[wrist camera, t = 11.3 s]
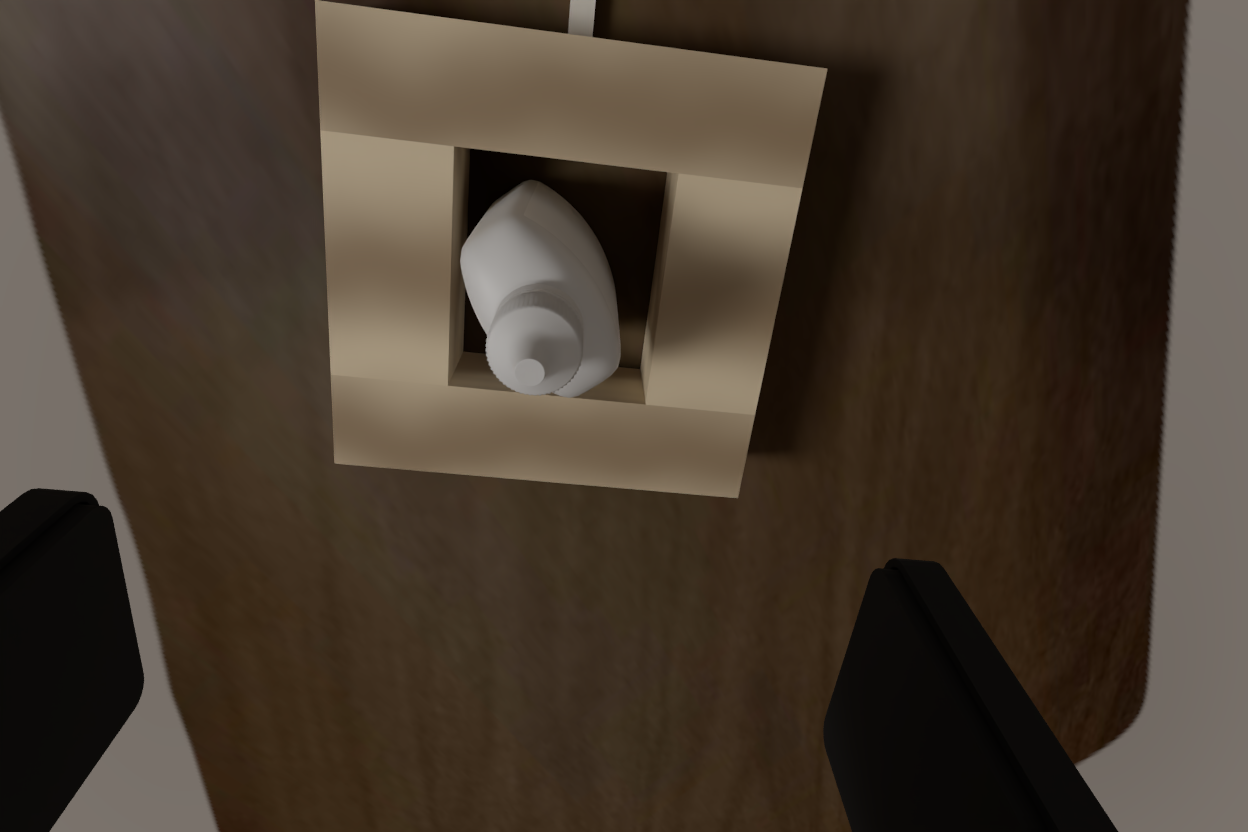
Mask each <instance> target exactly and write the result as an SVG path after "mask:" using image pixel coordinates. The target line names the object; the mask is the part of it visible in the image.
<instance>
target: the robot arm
mask: <svg viewBox="0 0 1248 832" xmlns="http://www.w3.org/2000/svg"><path fill="white" fill-rule="evenodd" d="M143 684H144V673H143V668H142V663H141V658H140V654H139V648H138V643H137V638H136V633H135V628H134V624H133V618H132V614H131V608H130V603H129V598H128V593H127V589H126V583H125V578H124V573H123V569H122V563H121V558H120V553H119V548H118V543H117V538H116V533H115V528H114V523H113V518H112V515H111V512H110V511H109V510H108V508H106V507H104V506H99V504H98V501H97V500H96V498H95V497H94V496H93V495H92V494H89V493H87V492H77V491H65V490H53V489H40V488H38V489H31V490H29V491H27V492H25V493H23V494H22V495H21V496H19V497H18V498H17V499H16V500H14V501H13V502H12V503H11V504H9V505H8V506H7V507H5V508H4V509H3V510H2V511H1V512H0V832H49V831H50V830H51V828H52V827H53V825H54V824H55V823H56V821H57V820H58V818H59V817H60V815H61V814H62V813H63V811H64V810H65V808H66V807H67V805H68V804H69V802H70V801H71V800H72V798H73V797H74V795H75V794H76V792H77V791H78V789H79V788H80V787H81V785H82V784H83V782H84V781H85V779H86V778H87V777H88V775H89V774H90V772H91V771H92V769H93V768H94V766H95V765H96V764H97V762H98V761H99V759H100V758H101V757H102V755H103V754H104V752H105V751H106V749H107V748H108V747H109V745H110V744H111V742H112V741H113V739H114V738H115V736H116V735H117V734H118V732H119V731H120V729H121V728H122V726H123V725H124V724H125V722H126V721H127V719H128V718H129V716H130V715H131V714H132V712H133V711H134V709H135V707H136V705H137V704H138V702H139V700H140V697H141V694H142V690H143ZM823 731H824V744H825V748H826V752H827V755H828V758H829V761H830V765H831V768H832V771H833V774H834V777H835V780H836V783H837V786H838V789H839V792H840V795H841V798H842V802H843V805H844V808H845V811H846V814H847V817H848V820H849V823H850V826H851V829H852V832H1118V831H1117V829H1116V828H1115V826H1114V825H1113V823H1112V822H1111V820H1110V819H1109V817H1108V816H1107V814H1106V813H1105V811H1104V809H1103V808H1102V807H1101V805H1100V803H1099V802H1098V800H1097V799H1096V798H1095V796H1094V794H1093V793H1092V791H1091V790H1090V788H1089V787H1088V785H1087V784H1086V782H1085V781H1084V779H1083V778H1082V776H1081V775H1080V773H1079V772H1078V770H1077V769H1076V767H1075V766H1074V764H1073V763H1072V761H1071V760H1070V758H1069V757H1068V755H1067V754H1066V752H1065V751H1064V749H1063V748H1062V746H1061V745H1060V743H1059V742H1058V740H1057V738H1056V737H1055V735H1054V734H1053V732H1052V731H1051V729H1050V728H1049V726H1048V725H1047V723H1046V722H1045V720H1044V719H1043V717H1042V716H1041V714H1040V713H1039V711H1038V710H1037V708H1036V707H1035V705H1034V704H1033V702H1032V701H1031V699H1030V698H1029V696H1028V695H1027V693H1026V692H1025V690H1024V689H1023V687H1022V686H1021V684H1020V683H1019V681H1018V680H1017V678H1016V677H1015V675H1014V674H1013V672H1012V671H1011V669H1010V668H1009V666H1008V665H1007V663H1006V662H1005V660H1004V658H1003V657H1002V655H1001V654H1000V652H999V651H998V649H997V648H996V646H995V645H994V643H993V642H992V640H991V639H990V637H989V636H988V634H987V633H986V631H985V630H984V628H983V627H982V625H981V624H980V622H979V621H978V619H977V618H976V616H975V615H974V613H973V612H972V610H971V609H970V607H969V606H968V604H967V603H966V601H965V600H964V598H963V597H962V595H961V594H960V592H959V591H958V589H957V588H956V586H955V585H954V583H953V581H952V580H951V578H950V577H949V575H948V574H947V572H946V571H945V569H944V568H943V567H942V566H941V565H940V564H939V563H937V562H934V561H922V560H909V559H897V558H894V559H891V560H889V561H888V562H887V563H886V565H885V567H884V569H880V568H878V569H875V570H874V571H873V572H872V574H871V576H870V579H869V582H868V585H867V588H866V591H865V594H864V598H863V601H862V604H861V607H860V610H859V613H858V616H857V620H856V623H855V626H854V629H853V632H852V635H851V638H850V641H849V645H848V648H847V651H846V654H845V657H844V660H843V663H842V667H841V670H840V673H839V676H838V679H837V682H836V685H835V688H834V692H833V695H832V698H831V701H830V704H829V707H828V710H827V714H826V717H825V721H824V730H823Z"/></svg>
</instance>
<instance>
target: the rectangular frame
mask: <svg viewBox="0 0 1248 832" xmlns="http://www.w3.org/2000/svg"><path fill="white" fill-rule="evenodd" d="M315 12H316V36H317V59H318V83H319V106H320V130H321V153H322V177H323V201H324V224H325V248H326V271H327V295H328V318H329V342H330V365H331V389H332V413H333V436H334V460H335V464H347V465H358V466H370V467H382V468H393V469H405V470H416V471H428V472H440V473H451V474H463V475H475V476H486V477H498V478H510V479H521V480H533V481H544V482H556V483H568V484H579V485H591V486H603V487H614V488H626V489H638V490H649V491H661V492H673V493H684V494H696V495H707V496H719V497H731V498H738V494H739V489H740V485H741V480H742V475H743V470H744V466H745V461H746V456H747V451H748V446H749V442H750V437H751V432H752V427H753V423H754V418H755V413H756V408H757V403H758V399H759V394H760V389H761V384H762V380H763V375H764V370H765V365H766V360H767V356H768V351H769V346H770V341H771V337H772V332H773V327H774V322H775V317H776V313H777V308H778V303H779V298H780V294H781V289H782V284H783V279H784V274H785V270H786V265H787V260H788V255H789V251H790V246H791V241H792V236H793V231H794V227H795V222H796V217H797V212H798V208H799V203H800V198H801V193H802V188H803V184H804V179H805V174H806V169H807V165H808V160H809V155H810V150H811V145H812V141H813V136H814V131H815V126H816V122H817V117H818V112H819V107H820V102H821V98H822V93H823V88H824V83H825V79H826V74H827V69H826V68H819V67H811V66H804V65H796V64H789V63H781V62H774V61H766V60H759V59H751V58H744V57H736V56H729V55H721V54H714V53H707V52H699V51H692V50H684V49H677V48H669V47H662V46H654V45H647V44H639V43H632V42H624V41H617V40H609V39H602V38H594V37H587V36H580V35H572V34H565V33H557V32H550V31H542V30H535V29H527V28H520V27H512V26H505V25H497V24H490V23H482V22H475V21H467V20H460V19H453V18H445V17H438V16H430V15H423V14H415V13H408V12H400V11H393V10H385V9H378V8H370V7H363V6H355V5H348V4H341V3H333V2H326V1H318V0H315ZM470 148H472V149H480V150H488V151H496V152H505V153H513V154H521V155H530V156H538V157H546V158H555V159H563V160H571V161H580V162H588V163H596V164H604V165H613V166H621V167H629V168H638V169H646V170H654V171H663V172H667V178H666V185H665V193H664V200H663V207H662V215H661V222H660V229H659V236H658V244H657V251H656V258H655V266H654V273H653V280H652V287H651V295H650V302H649V309H648V317H647V324H646V331H645V338H644V346H643V353H642V360H641V368H640V369H635V368H625V367H618V368H617V369H616V370H615V372H614V373H613V374H612V375H611V376H610V377H608V378H607V379H606V380H604V381H603V382H601V383H600V384H598V385H597V386H595V387H593V388H592V389H590V390H588V391H587V392H585V393H583V394H581V395H579V396H575V397H571V398H568V397H562V396H559V395H557V394H554V393H552V392H551V393H550V394H546V395H543V394H542V395H541V396H539V395H536V396H534V395H531V396H530V395H528V394H527V395H525V394H524V393H522V394H520V393H519V392H515V390H511V389H510V388H508V387H507V386H506V385H503V382H500V381H499V379H498V378H496V375H495V374H493V371H492V370H491V367H490V366H489V365H488V364H489V362H488V361H487V358H488V357H487V356H486V354H483V353H473V352H463V345H464V315H465V283H464V279H463V275H462V270H461V264H460V258H461V250H462V247H463V245H464V244H465V242H466V240H467V227H468V198H469V169H470Z"/></svg>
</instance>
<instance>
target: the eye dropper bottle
mask: <svg viewBox="0 0 1248 832" xmlns="http://www.w3.org/2000/svg"><path fill="white" fill-rule="evenodd" d="M460 264H461V270H462V275H463V279H464V283H465V287H466V290H467V294H468V297H469V299H470V302H471V305H472V307H473V309H474V312H475V314H476V316H477V318H478V320H479V322H480V324H481V326H482V328H483V329H484V331H485V333H486V334H487V339H486V345H485V346H486V350H485V351H486V352H487V353H486V356H487V357H488V358H487V361H488V362H489V364H488V365H489V366H490V367H491V370H492V371H493V374H495V375H496V378H498V379H499V381H500V382H503V385H506V386H507V387H508V388H510V389H511V390H515V392H519V393H520V394H522V393H524V394H525V395H527V394H528V395H530V396H531V395H534V396H536V395H539V396H541V395H542V394H543V395H546V394H550V393H551V392H552V393H554V394H557V395H559V396H562V397H568V398H571V397H575V396H579V395H581V394H583V393H585V392H587V391H588V390H590V389H592V388H593V387H595V386H597V385H598V384H600V383H601V382H603V381H604V380H606V379H607V378H608V377H610V376H611V375H612V374H613V373H614V372H615V370H616V369H617V368H618V365H619V361H620V356H621V349H620V333H619V320H618V310H617V299H616V290H615V284H614V280H613V276H612V272H611V269H610V266H609V263H608V260H607V258H606V255H605V253H604V251H603V249H602V246H601V244H600V243H599V241H598V239H597V237H596V236H595V234H594V232H593V231H592V229H591V228H590V226H589V225H588V224H587V222H586V221H585V220H584V218H583V217H582V216H581V215H580V214H579V213H578V212H577V210H576V209H575V208H574V207H573V206H572V205H571V204H570V203H568V202H567V201H566V200H565V199H564V198H563V197H562V196H560V195H559V194H558V193H556V192H555V191H554V190H552V189H551V188H549V187H548V186H546V185H545V184H543V183H541V182H539V181H535V180H528V181H524V182H522V183H521V184H519V185H517V186H516V187H514V188H513V189H512V190H510V191H509V192H507V193H506V194H504V195H503V196H502V197H500V198H499V199H498V200H496V201H495V202H494V203H493V204H492V205H491V206H490V208H489V209H488V210H487V212H486V213H485V214H484V216H483V217H482V219H481V220H480V221H479V223H478V224H477V226H476V227H475V228H474V230H473V231H472V233H471V234H470V236H469V237H468V239H467V240H466V242H465V244H464V245H463V247H462V250H461V258H460Z"/></svg>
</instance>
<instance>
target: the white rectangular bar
mask: <svg viewBox="0 0 1248 832" xmlns="http://www.w3.org/2000/svg"><path fill="white" fill-rule="evenodd" d="M595 4H596V0H571V2H570V14H569V27H568V34H572V35H580V36H587V37H593V26H594V15H595Z"/></svg>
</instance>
